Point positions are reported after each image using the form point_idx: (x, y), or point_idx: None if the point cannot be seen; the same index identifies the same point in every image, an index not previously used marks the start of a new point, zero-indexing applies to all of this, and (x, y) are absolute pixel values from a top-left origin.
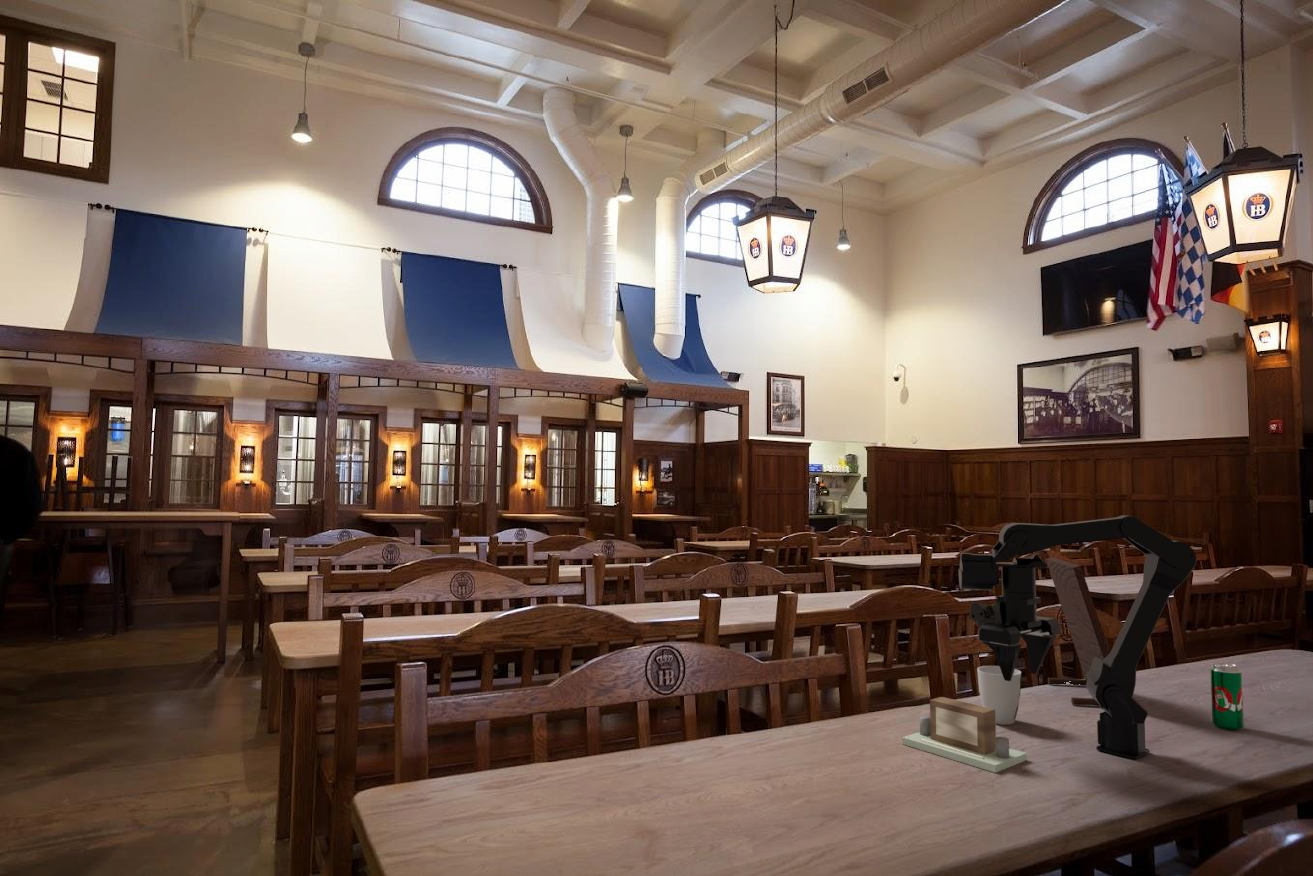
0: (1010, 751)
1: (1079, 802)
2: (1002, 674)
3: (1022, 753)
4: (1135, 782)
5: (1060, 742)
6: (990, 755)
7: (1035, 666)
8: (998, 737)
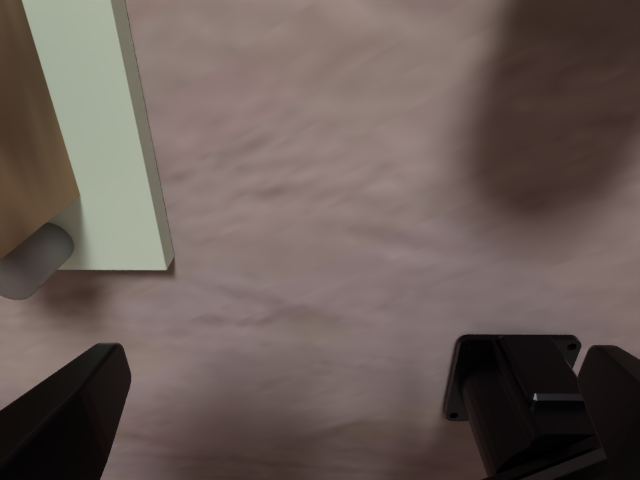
0: (126, 230)
1: None
2: (56, 372)
3: (149, 263)
4: (274, 454)
5: (470, 234)
6: None
7: (619, 441)
8: (2, 264)
